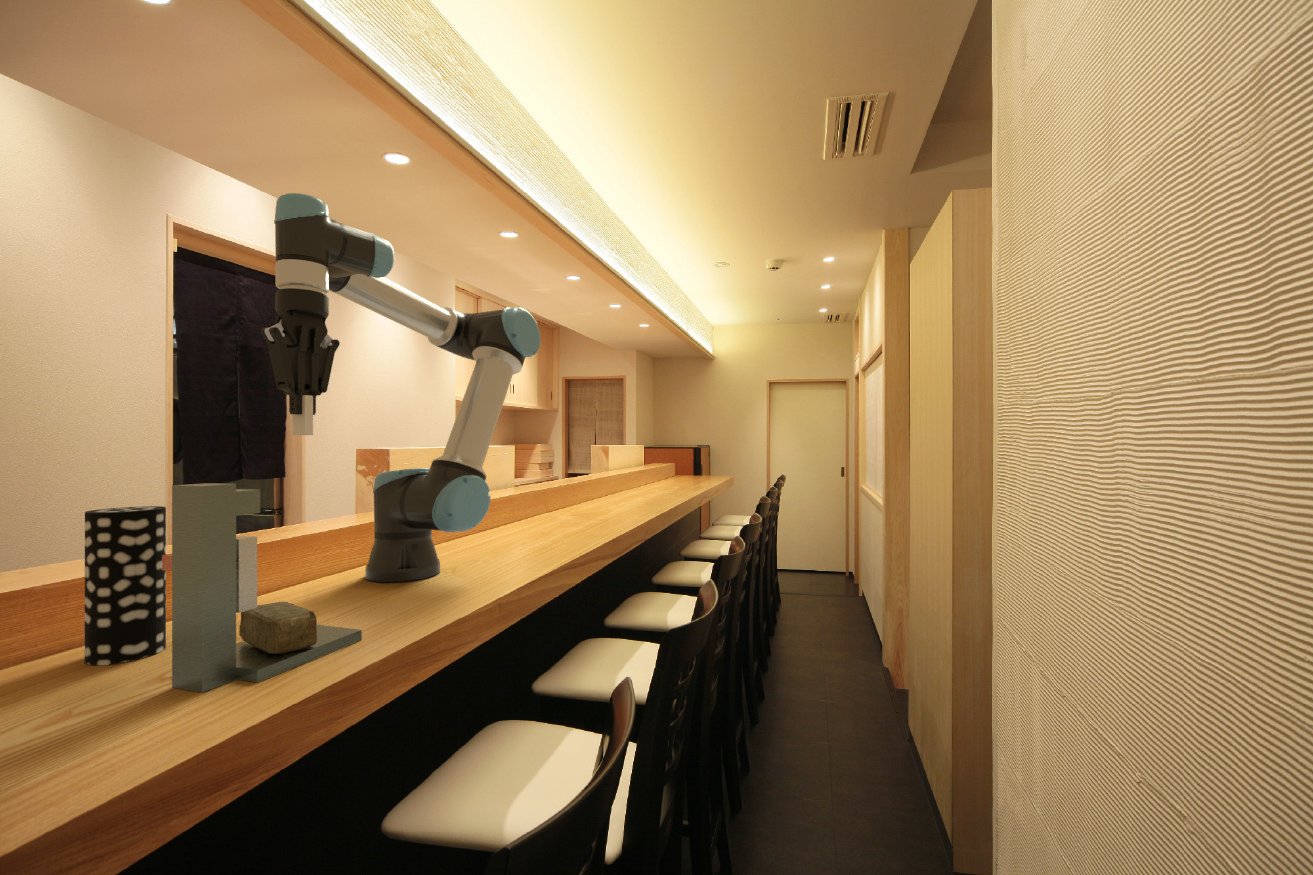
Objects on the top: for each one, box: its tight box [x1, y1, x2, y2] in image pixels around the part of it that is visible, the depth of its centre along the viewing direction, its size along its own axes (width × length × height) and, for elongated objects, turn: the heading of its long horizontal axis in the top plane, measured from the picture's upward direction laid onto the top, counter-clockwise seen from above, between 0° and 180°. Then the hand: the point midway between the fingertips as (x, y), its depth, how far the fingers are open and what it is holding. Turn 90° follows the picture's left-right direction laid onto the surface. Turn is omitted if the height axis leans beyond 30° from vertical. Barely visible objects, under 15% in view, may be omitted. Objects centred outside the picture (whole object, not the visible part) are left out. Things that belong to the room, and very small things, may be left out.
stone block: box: [238, 601, 318, 654], centre depth 80 cm, size 6×12×5 cm, turn 55°
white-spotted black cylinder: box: [84, 505, 167, 666], centre depth 81 cm, size 8×8×20 cm
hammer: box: [162, 535, 258, 614], centre depth 76 cm, size 4×13×9 cm, turn 72°
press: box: [171, 482, 363, 694], centre depth 78 cm, size 20×12×24 cm, turn 162°
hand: (302, 435), depth 96 cm, fingers closed
